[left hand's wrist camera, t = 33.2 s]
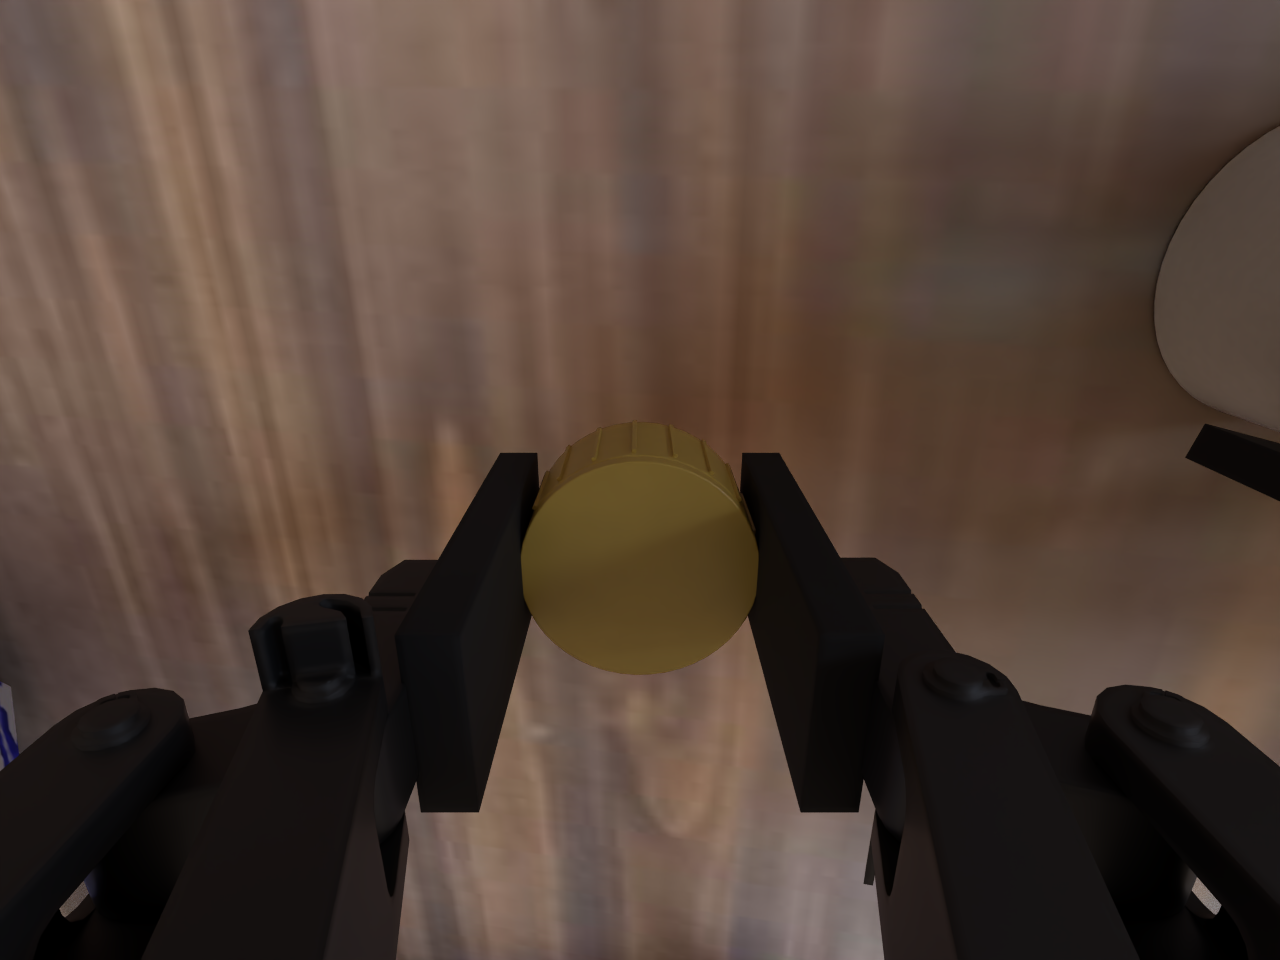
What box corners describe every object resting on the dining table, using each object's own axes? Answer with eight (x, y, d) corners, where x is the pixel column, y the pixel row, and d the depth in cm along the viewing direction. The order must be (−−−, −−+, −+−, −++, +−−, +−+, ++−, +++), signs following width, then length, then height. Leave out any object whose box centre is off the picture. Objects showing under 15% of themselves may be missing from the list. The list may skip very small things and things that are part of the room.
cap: (754, 422, 14) (777, 463, 11) (735, 612, 15) (751, 681, 13) (534, 414, 14) (513, 453, 11) (537, 606, 15) (519, 673, 13)
